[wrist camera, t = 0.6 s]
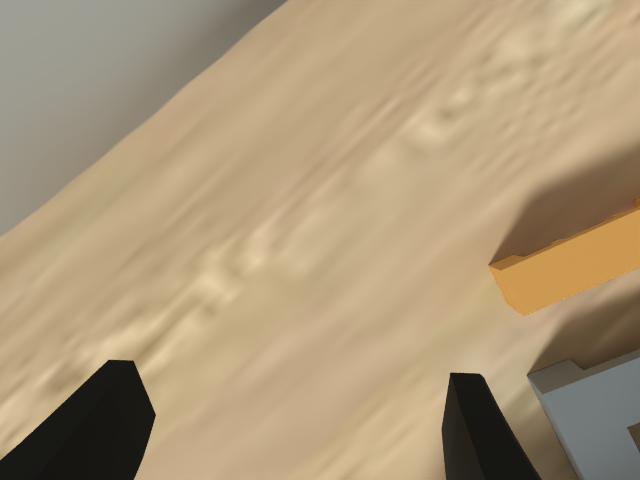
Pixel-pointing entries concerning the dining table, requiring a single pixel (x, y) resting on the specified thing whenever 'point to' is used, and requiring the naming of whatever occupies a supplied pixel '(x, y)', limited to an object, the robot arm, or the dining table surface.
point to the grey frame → (594, 414)
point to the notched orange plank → (571, 263)
